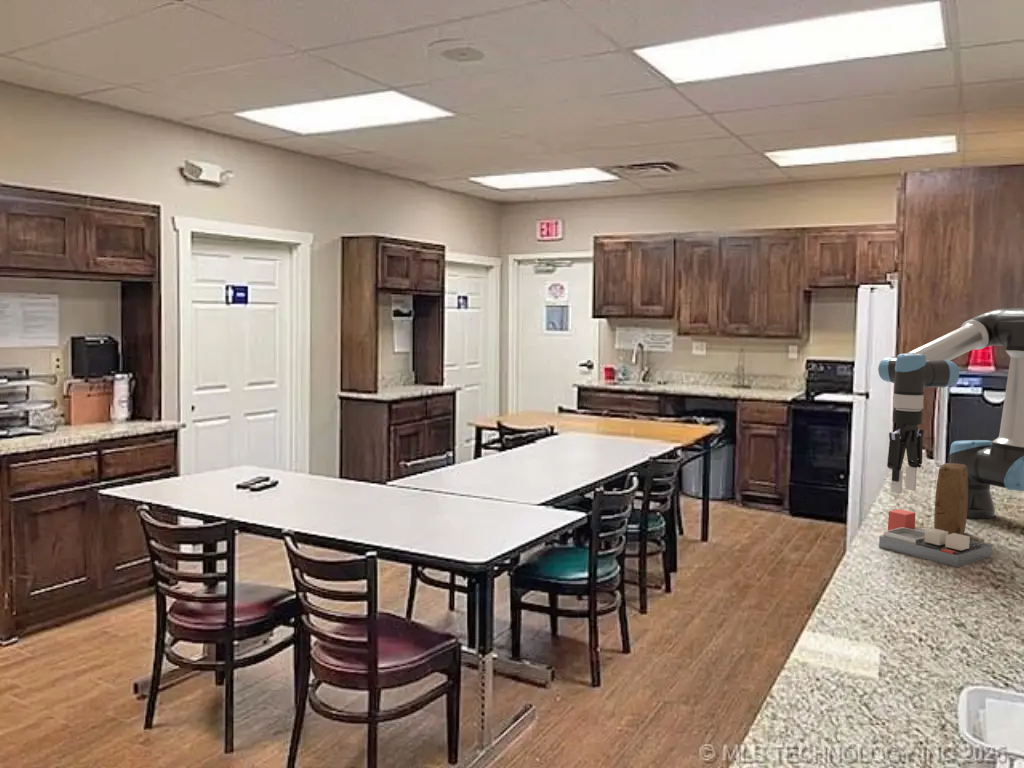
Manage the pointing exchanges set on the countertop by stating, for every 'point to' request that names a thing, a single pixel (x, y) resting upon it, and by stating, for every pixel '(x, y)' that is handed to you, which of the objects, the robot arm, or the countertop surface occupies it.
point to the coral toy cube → (901, 519)
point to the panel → (932, 547)
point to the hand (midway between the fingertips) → (903, 491)
